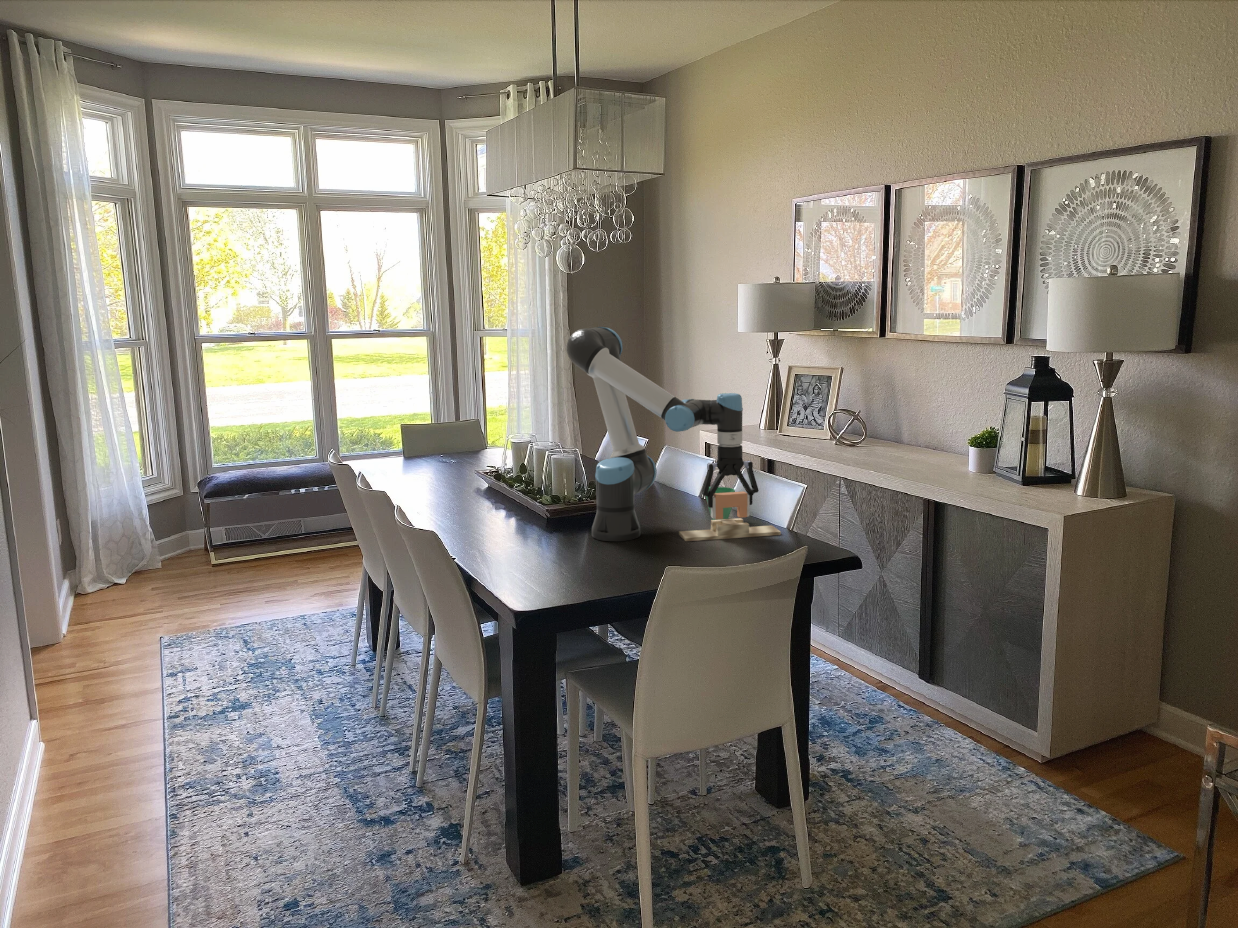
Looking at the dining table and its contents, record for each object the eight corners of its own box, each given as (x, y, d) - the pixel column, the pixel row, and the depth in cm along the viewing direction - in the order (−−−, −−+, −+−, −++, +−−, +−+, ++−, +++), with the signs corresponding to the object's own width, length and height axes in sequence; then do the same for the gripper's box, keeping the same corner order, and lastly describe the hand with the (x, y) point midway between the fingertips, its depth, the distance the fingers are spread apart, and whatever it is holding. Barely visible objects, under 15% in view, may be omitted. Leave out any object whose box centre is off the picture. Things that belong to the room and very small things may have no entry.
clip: (715, 519, 280) (715, 495, 279) (713, 517, 283) (712, 493, 282) (747, 517, 282) (747, 493, 281) (744, 515, 285) (744, 491, 283)
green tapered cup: (740, 521, 299) (740, 491, 297) (713, 524, 296) (713, 494, 294) (720, 512, 313) (719, 483, 311) (693, 515, 309) (693, 485, 307)
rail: (685, 541, 277) (685, 528, 276) (679, 534, 285) (678, 522, 284) (780, 534, 282) (780, 522, 282) (771, 528, 290) (772, 516, 289)
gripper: (696, 448, 273) (697, 521, 277) (769, 444, 277) (769, 516, 281) (690, 444, 280) (691, 516, 284) (761, 441, 284) (761, 511, 288)
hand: (730, 516), depth 282 cm, fingers closed on clip, 10 cm apart
